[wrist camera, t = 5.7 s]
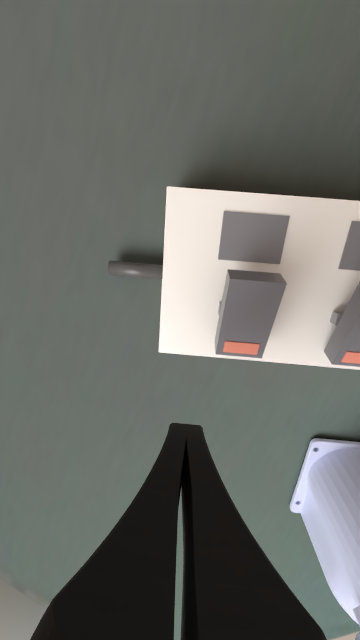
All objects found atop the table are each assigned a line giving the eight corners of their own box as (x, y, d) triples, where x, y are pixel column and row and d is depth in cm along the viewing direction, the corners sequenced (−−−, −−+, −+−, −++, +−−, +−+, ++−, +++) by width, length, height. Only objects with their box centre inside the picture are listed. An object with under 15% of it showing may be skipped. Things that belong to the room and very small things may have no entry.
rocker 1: (257, 345, 16) (262, 359, 15) (214, 341, 16) (215, 355, 15) (280, 273, 13) (287, 284, 12) (227, 269, 13) (230, 279, 12)
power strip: (465, 358, 20) (533, 389, 16) (115, 328, 20) (96, 351, 16) (535, 223, 16) (643, 219, 12) (113, 191, 17) (89, 178, 13)
